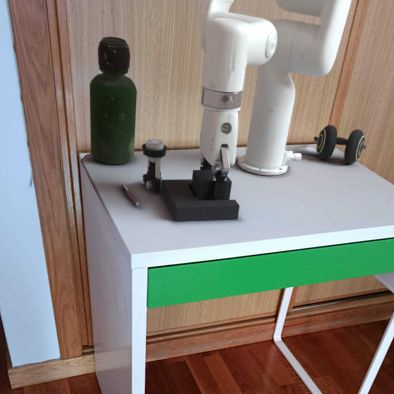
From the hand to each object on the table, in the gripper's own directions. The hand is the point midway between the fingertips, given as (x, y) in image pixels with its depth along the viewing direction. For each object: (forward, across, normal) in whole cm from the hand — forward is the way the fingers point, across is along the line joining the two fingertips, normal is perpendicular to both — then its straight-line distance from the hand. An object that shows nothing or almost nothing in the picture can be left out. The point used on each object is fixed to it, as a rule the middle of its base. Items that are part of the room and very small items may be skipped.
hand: (210, 191), depth 104 cm
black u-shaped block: (+3, 0, +2) cm, 4 cm away
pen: (+3, +6, +16) cm, 17 cm away
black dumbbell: (-2, +22, -42) cm, 48 cm away
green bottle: (+3, +29, +17) cm, 33 cm away
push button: (+3, +10, +10) cm, 15 cm away
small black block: (+1, 0, 0) cm, 1 cm away
